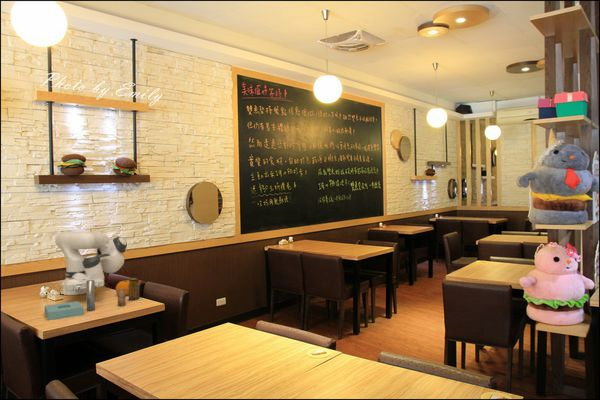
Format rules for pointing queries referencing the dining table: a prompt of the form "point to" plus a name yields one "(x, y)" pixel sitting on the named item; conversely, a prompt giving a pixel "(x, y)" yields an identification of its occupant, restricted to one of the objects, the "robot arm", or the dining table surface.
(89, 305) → the long pin
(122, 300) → the short pin
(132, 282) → the condiment
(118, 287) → the fruit
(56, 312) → the hole plate
